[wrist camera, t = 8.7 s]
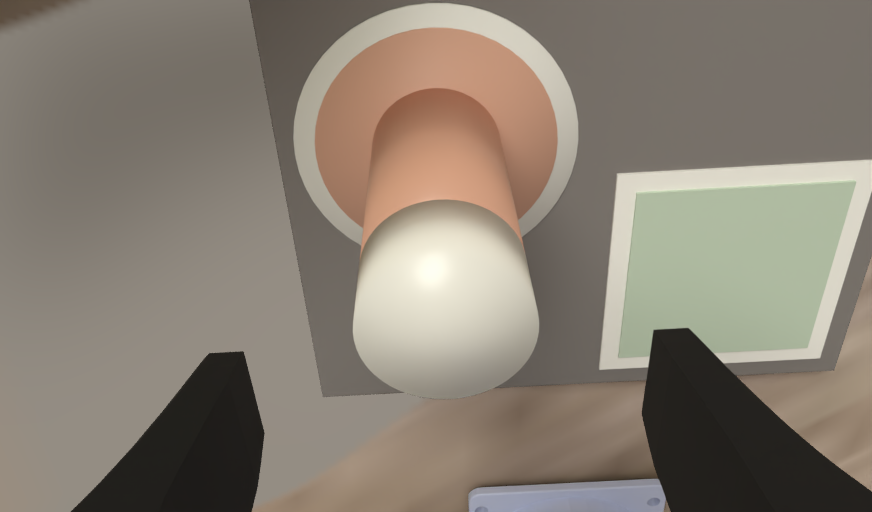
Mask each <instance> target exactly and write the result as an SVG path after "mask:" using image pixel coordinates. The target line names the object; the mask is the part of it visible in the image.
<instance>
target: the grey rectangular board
mask: <svg viewBox="0 0 872 512" xmlns="http://www.w3.org/2000/svg"><path fill="white" fill-rule="evenodd" d="M249 2H250V8H251V13H252V18H253V23H254V29H255V34H256V39H257V45H258V51H259V56H260V61H261V66H262V72H263V77H264V83H265V88H266V93H267V99H268V104H269V109H270V115H271V119H272V126H273V131H274V136H275V142H276V147H277V152H278V158H279V163H280V169H281V174H282V179H283V185H284V190H285V196H286V201H287V206H288V211H289V217H290V222H291V228H292V233H293V238H294V244H295V249H296V255H297V260H298V265H299V271H300V276H301V282H302V287H303V292H304V297H305V303H306V309H307V314H308V319H309V324H310V329H311V335H312V341H313V346H314V351H315V357H316V362H317V368H318V373H319V378H320V384H321V389H322V394H323V397H330V396H350V395H368V394H387V393H404V392H402V391H399V390H397V389H395V388H393V387H391V386H389V385H388V384H386V383H385V382H383V381H381V380H380V379H379V378H378V377H377V376H375V375H374V374H373V373H372V372H371V371H370V370H369V369H368V368H367V367H366V365H365V364H364V362H363V361H362V359H361V358H360V356H359V354H358V351H357V349H356V346H355V343H354V337H353V318H354V309H355V300H356V290H357V281H358V272H359V263H360V253H361V244H362V235H363V226H364V216H365V207H366V198H367V188H368V179H369V170H370V161H371V151H372V142H373V136H374V132H375V129H376V126H377V124H378V122H379V120H380V118H381V117H382V116H383V114H384V113H385V111H386V110H387V109H388V108H389V107H390V106H391V105H392V104H394V103H395V102H396V101H397V100H399V99H401V98H402V97H404V96H406V95H408V94H410V93H412V92H416V91H419V90H423V89H429V88H445V89H451V90H456V91H459V92H462V93H464V94H466V95H468V96H470V97H472V98H474V99H475V100H477V101H478V102H479V103H480V104H481V105H483V106H484V107H485V108H486V110H487V111H488V112H489V113H490V114H491V116H492V118H493V119H494V121H495V123H496V125H497V128H498V131H499V135H500V139H501V144H502V149H503V153H504V158H505V162H506V167H507V172H508V176H509V181H510V186H511V190H512V195H513V199H514V204H515V209H516V213H517V218H518V223H519V227H520V232H521V236H522V241H523V246H524V250H525V255H526V260H527V264H528V269H529V273H530V278H531V283H532V287H533V292H534V297H535V301H536V306H537V310H538V316H539V334H538V339H537V343H536V345H535V348H534V350H533V352H532V354H531V356H530V357H529V359H528V360H527V362H526V363H525V364H524V366H523V367H522V368H521V369H520V370H519V371H518V372H517V373H516V374H515V375H514V376H512V377H511V378H510V379H508V380H507V381H505V382H504V383H502V384H501V385H499V386H497V387H495V388H504V387H523V386H543V385H562V384H581V383H601V382H620V381H639V380H646V379H647V372H648V365H649V358H650V351H651V344H652V337H653V330H657V329H676V328H689V329H690V330H691V331H692V332H693V333H694V334H695V335H696V336H697V337H698V338H699V339H700V340H701V341H702V342H703V343H704V344H705V345H706V346H707V347H708V348H709V349H710V350H711V351H712V352H713V353H714V354H715V355H716V356H717V357H718V358H719V359H720V360H721V361H722V362H723V363H724V364H725V365H726V366H727V367H728V368H729V369H730V370H731V371H732V372H733V373H734V374H735V375H755V374H774V373H793V372H813V371H832V370H834V369H835V366H836V363H837V360H838V357H839V354H840V351H841V348H842V345H843V341H844V338H845V335H846V332H847V329H848V326H849V323H850V320H851V317H852V314H853V311H854V308H855V305H856V302H857V299H858V296H859V293H860V290H861V287H862V283H863V280H864V277H865V274H866V271H867V268H868V265H869V262H870V259H871V256H872V0H249Z"/></svg>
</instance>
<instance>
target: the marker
mask: <svg viewBox="0 0 872 512" xmlns="http://www.w3.org/2000/svg"><path fill="white" fill-rule="evenodd" d="M538 334H539V316H538V310H537V306H536V301H535V297H534V292H533V287H532V283H531V278H530V273H529V269H528V264H527V260H526V255H525V250H524V246H523V241H522V236H521V232H520V227H519V223H518V218H517V213H516V209H515V204H514V199H513V195H512V190H511V186H510V181H509V176H508V172H507V167H506V162H505V158H504V153H503V149H502V144H501V139H500V135H499V131H498V128H497V125H496V123H495V121H494V119H493V118H492V116H491V114H490V113H489V112H488V111H487V110H486V108H485V107H484V106H483V105H481V104H480V103H479V102H478V101H477V100H475V99H474V98H472V97H470V96H468V95H466V94H464V93H462V92H459V91H456V90H451V89H445V88H429V89H423V90H419V91H416V92H412V93H410V94H408V95H406V96H404V97H402V98H401V99H399V100H397V101H396V102H395V103H394V104H392V105H391V106H390V107H389V108H388V109H387V110H386V111H385V113H384V114H383V116H382V117H381V118H380V120H379V122H378V124H377V126H376V129H375V132H374V136H373V142H372V151H371V161H370V170H369V179H368V188H367V198H366V207H365V216H364V226H363V235H362V244H361V253H360V263H359V272H358V281H357V290H356V300H355V309H354V318H353V337H354V343H355V346H356V349H357V351H358V354H359V356H360V358H361V359H362V361H363V362H364V364H365V365H366V367H367V368H368V369H369V370H370V371H371V372H372V373H373V374H374V375H375V376H377V377H378V378H379V379H380V380H381V381H383V382H385V383H386V384H388V385H389V386H391V387H393V388H395V389H397V390H399V391H402V392H404V393H407V394H410V395H414V396H418V397H423V398H430V399H457V398H465V397H469V396H473V395H477V394H480V393H483V392H486V391H489V390H491V389H493V388H495V387H497V386H499V385H501V384H502V383H504V382H505V381H507V380H508V379H510V378H511V377H512V376H514V375H515V374H516V373H517V372H518V371H519V370H520V369H521V368H522V367H523V366H524V364H525V363H526V362H527V360H528V359H529V357H530V356H531V354H532V352H533V350H534V348H535V345H536V343H537V339H538Z"/></svg>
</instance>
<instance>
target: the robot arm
mask: <svg viewBox="0 0 872 512" xmlns="http://www.w3.org/2000/svg"><path fill="white" fill-rule="evenodd" d="M642 417H643V421H644V426H645V430H646V435H647V439H648V443H649V447H650V451H651V455H652V459H653V463H654V467H655V470H656V473H657V475H658V478H659V479H637V480H617V481H598V482H578V483H558V484H538V485H518V486H498V487H480V488H475V489H473V490H472V491H471V492H470V493H469V495H468V502H469V512H664V507H665V502H666V500H667V503H668V505H669V508H670V511H671V512H872V492H871V491H870V490H869V489H867V488H866V487H865V486H863V485H862V484H860V483H859V482H858V481H856V480H855V479H854V478H852V477H851V476H850V475H848V474H847V473H846V472H844V471H843V470H841V469H840V468H839V467H837V466H836V465H835V464H834V463H832V462H831V461H830V460H829V459H827V458H826V457H825V456H823V455H822V454H821V453H820V452H819V451H817V450H816V449H815V448H814V447H813V446H811V445H810V444H809V443H808V442H807V441H805V440H804V439H803V438H802V437H801V436H800V435H798V434H797V433H796V432H795V431H794V430H793V429H792V428H790V427H789V426H788V425H787V424H786V423H785V422H784V421H783V420H781V419H780V418H779V417H778V416H777V415H776V414H775V413H774V412H773V411H772V410H771V409H770V408H769V407H768V406H766V405H765V404H764V403H763V402H762V401H761V400H760V399H759V398H758V397H757V396H756V395H755V394H754V393H753V392H752V391H751V390H750V389H749V388H748V387H747V386H746V385H745V384H744V383H742V382H741V381H740V380H739V379H738V377H737V376H736V375H735V374H734V373H733V372H732V371H731V370H730V369H729V368H728V367H727V366H726V365H725V364H724V363H723V362H722V361H721V360H720V359H719V358H718V357H717V356H716V355H715V354H714V353H713V352H712V351H711V350H710V349H709V348H708V347H707V346H706V345H705V344H704V343H703V342H702V341H701V340H700V339H699V338H698V337H697V336H696V335H695V334H694V333H693V332H692V331H691V330H690V329H689V328H676V329H657V330H653V337H652V344H651V351H650V358H649V365H648V372H647V379H646V386H645V394H644V401H643V408H642ZM263 441H264V429H263V425H262V422H261V418H260V414H259V410H258V406H257V402H256V399H255V394H254V390H253V386H252V383H251V379H250V375H249V371H248V367H247V363H246V359H245V356H244V352H225V353H209V354H208V355H207V356H206V357H205V359H204V360H203V361H202V362H201V363H200V365H199V366H198V367H197V369H196V370H195V371H194V372H193V373H192V375H191V376H190V377H189V379H188V380H187V381H186V382H185V384H184V385H183V386H182V388H181V389H180V390H179V391H178V393H177V394H176V395H175V396H174V398H173V399H172V400H171V401H170V403H169V404H168V405H167V406H166V408H165V409H164V410H163V412H162V413H161V414H160V415H159V416H158V417H157V419H156V420H155V421H154V422H153V423H152V425H151V426H150V427H149V428H148V429H147V431H146V432H145V433H144V434H143V435H142V437H141V438H140V439H139V440H138V441H137V443H136V444H135V445H134V446H133V447H132V448H131V449H130V450H129V452H128V453H127V454H126V455H125V456H124V457H123V458H122V459H121V460H120V461H119V462H118V464H117V465H116V466H115V467H114V468H113V469H112V470H111V471H110V472H109V473H108V474H107V476H105V478H104V479H103V480H102V481H101V482H100V483H99V484H98V485H97V486H96V487H95V488H94V489H93V490H92V491H91V492H90V493H89V494H88V495H87V496H86V497H85V498H84V499H83V500H82V501H81V502H80V503H79V504H78V505H77V506H76V507H75V508H74V509H73V510H72V511H71V512H251V511H252V507H253V503H254V499H255V495H256V491H257V487H258V480H259V473H260V465H261V458H262V449H263ZM481 506H482V507H481Z"/></svg>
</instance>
